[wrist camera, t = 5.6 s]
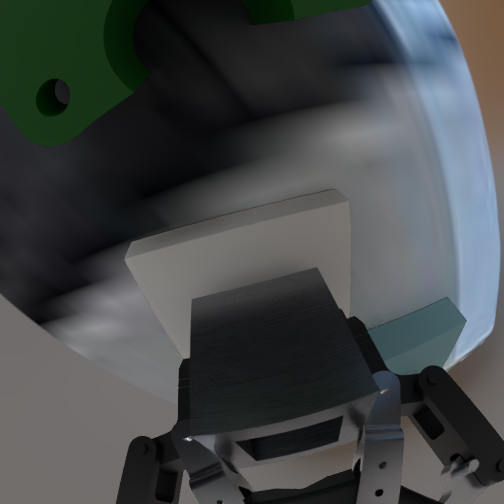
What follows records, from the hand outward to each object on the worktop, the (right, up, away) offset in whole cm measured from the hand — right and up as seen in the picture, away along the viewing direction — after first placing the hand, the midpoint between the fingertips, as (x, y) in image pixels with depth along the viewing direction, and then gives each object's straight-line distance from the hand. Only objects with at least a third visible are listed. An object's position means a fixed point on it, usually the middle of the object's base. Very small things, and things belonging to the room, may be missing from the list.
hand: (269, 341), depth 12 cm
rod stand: (-1, +2, +3) cm, 4 cm away
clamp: (-4, +14, -5) cm, 15 cm away
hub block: (+12, -5, +9) cm, 16 cm away
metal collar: (0, +1, +1) cm, 1 cm away
